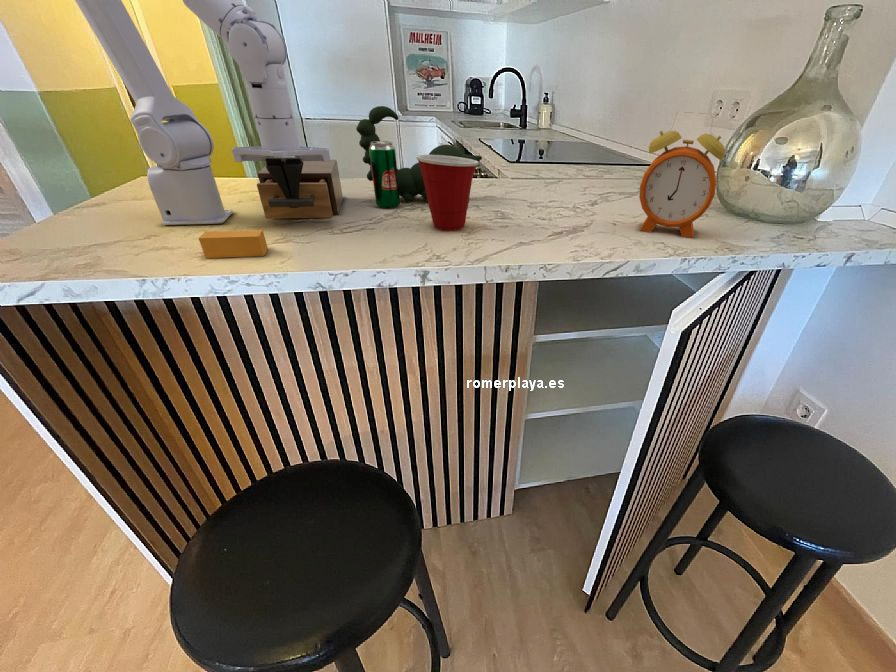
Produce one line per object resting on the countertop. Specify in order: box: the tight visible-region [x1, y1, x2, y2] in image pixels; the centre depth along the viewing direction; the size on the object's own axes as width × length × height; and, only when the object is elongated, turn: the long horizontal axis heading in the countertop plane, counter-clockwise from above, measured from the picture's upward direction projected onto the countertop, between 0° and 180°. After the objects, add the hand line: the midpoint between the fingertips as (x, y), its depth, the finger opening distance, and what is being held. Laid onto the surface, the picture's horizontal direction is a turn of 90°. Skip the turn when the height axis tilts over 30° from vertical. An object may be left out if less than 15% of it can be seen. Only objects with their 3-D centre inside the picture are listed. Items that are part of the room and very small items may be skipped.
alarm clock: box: [638, 111, 727, 239], centre depth 82 cm, size 13×6×20 cm, turn 70°
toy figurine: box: [355, 105, 483, 203], centre depth 95 cm, size 9×19×25 cm
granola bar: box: [198, 229, 269, 259], centre depth 67 cm, size 8×3×3 cm, turn 104°
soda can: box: [369, 140, 401, 209], centre depth 91 cm, size 5×5×12 cm
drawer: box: [256, 178, 334, 220], centre depth 84 cm, size 18×11×6 cm, turn 14°
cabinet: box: [256, 159, 344, 216], centre depth 90 cm, size 15×13×8 cm
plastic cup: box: [415, 154, 480, 232], centre depth 81 cm, size 11×11×12 cm
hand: (294, 206), depth 79 cm, fingers closed, pressing on drawer
